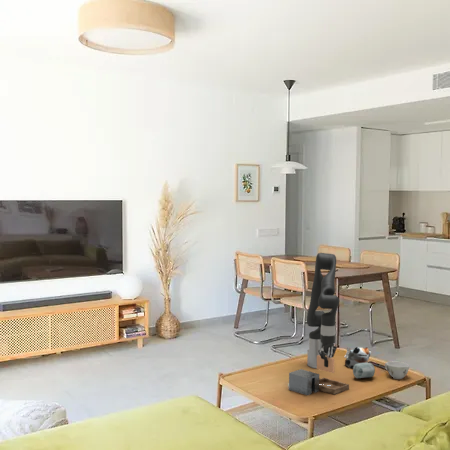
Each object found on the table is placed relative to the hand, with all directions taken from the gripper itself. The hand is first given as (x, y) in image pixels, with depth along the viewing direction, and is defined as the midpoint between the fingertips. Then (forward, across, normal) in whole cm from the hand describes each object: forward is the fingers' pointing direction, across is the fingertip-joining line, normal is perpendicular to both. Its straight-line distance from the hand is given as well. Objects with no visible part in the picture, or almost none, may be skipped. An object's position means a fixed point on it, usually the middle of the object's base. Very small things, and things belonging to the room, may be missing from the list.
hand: (327, 366), depth 282 cm
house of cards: (+16, -63, -27) cm, 70 cm away
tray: (+14, -6, -3) cm, 15 cm away
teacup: (+15, -51, +11) cm, 54 cm away
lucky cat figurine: (+15, -50, -14) cm, 55 cm away
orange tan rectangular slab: (+2, 0, -1) cm, 3 cm away
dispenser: (+14, +6, -10) cm, 18 cm away
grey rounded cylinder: (+15, -32, 0) cm, 36 cm away
